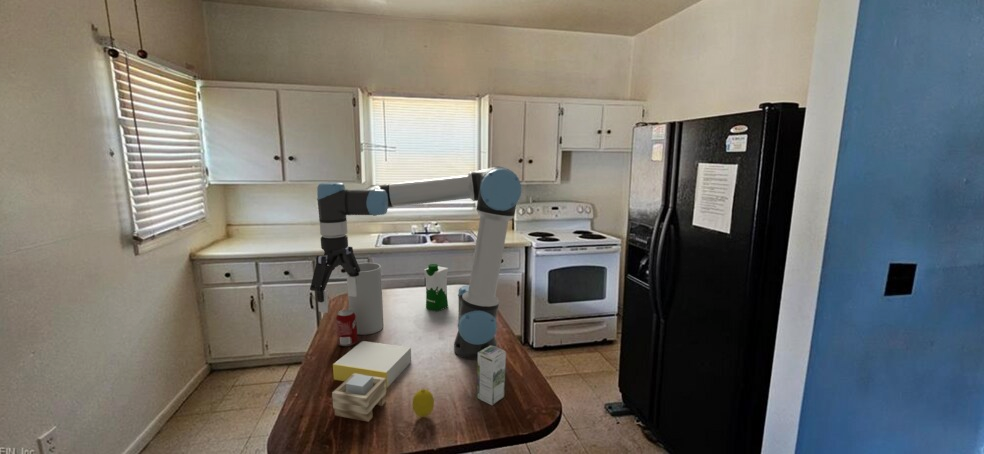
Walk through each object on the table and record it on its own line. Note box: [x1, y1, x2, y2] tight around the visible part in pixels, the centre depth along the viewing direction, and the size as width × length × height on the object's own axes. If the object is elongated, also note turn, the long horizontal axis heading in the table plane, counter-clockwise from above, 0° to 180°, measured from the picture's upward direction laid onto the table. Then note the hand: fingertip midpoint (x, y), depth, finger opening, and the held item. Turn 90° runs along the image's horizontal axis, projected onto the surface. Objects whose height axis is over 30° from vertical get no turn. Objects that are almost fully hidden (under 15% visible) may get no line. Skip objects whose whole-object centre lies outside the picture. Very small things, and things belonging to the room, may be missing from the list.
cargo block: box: [346, 374, 373, 396], centre depth 113 cm, size 5×5×4 cm
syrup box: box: [476, 345, 507, 406], centre depth 118 cm, size 6×6×14 cm
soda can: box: [335, 308, 358, 347], centre depth 151 cm, size 7×7×12 cm
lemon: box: [412, 388, 435, 418], centre depth 110 cm, size 6×6×8 cm
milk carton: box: [423, 263, 449, 312], centre depth 185 cm, size 9×9×20 cm
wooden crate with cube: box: [331, 373, 387, 423], centre depth 114 cm, size 10×10×7 cm
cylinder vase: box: [346, 262, 385, 336], centre depth 162 cm, size 12×12×25 cm
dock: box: [332, 340, 412, 389], centre depth 133 cm, size 18×16×5 cm
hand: (338, 303), depth 127 cm, fingers open, 13 cm apart
